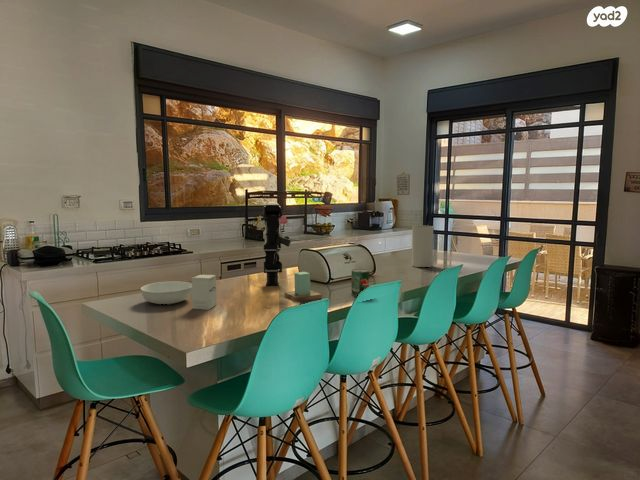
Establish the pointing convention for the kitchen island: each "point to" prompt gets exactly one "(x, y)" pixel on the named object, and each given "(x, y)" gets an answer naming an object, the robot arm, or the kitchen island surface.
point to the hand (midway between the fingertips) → (273, 264)
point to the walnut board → (302, 296)
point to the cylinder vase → (422, 246)
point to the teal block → (302, 283)
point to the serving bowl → (167, 292)
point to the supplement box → (204, 292)
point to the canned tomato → (359, 280)
